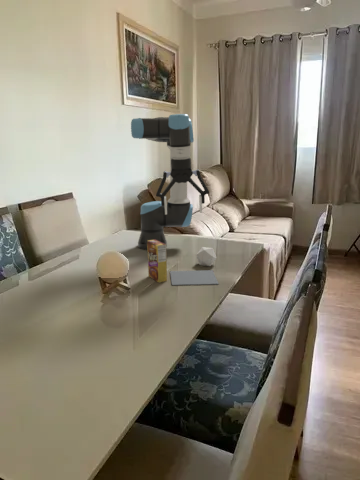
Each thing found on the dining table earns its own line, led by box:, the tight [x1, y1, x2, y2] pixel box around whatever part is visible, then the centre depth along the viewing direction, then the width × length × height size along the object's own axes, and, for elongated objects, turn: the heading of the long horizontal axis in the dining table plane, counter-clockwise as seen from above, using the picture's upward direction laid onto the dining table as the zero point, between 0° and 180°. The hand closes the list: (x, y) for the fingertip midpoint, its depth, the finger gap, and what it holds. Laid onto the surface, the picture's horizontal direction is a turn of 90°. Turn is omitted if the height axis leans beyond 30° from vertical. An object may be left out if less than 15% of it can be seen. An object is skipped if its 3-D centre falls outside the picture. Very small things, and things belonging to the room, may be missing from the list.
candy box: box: [147, 239, 168, 283], centre depth 153 cm, size 9×4×15 cm, turn 31°
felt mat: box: [169, 269, 219, 286], centre depth 156 cm, size 16×18×1 cm
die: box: [195, 246, 217, 267], centre depth 172 cm, size 8×9×10 cm
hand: (183, 212), depth 151 cm, fingers open, 13 cm apart
